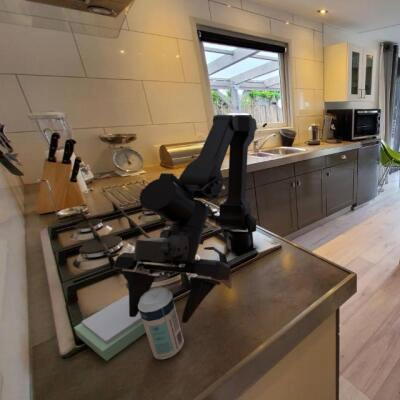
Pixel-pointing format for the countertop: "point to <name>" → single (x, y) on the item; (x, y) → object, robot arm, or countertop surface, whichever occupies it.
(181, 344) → the white canister
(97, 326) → the kitchen scale
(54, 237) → the countertop surface
